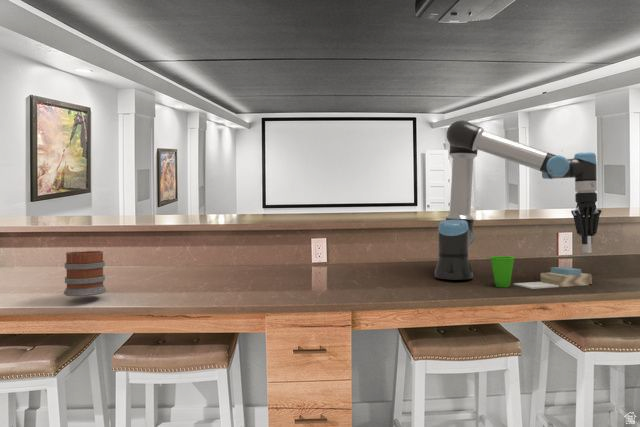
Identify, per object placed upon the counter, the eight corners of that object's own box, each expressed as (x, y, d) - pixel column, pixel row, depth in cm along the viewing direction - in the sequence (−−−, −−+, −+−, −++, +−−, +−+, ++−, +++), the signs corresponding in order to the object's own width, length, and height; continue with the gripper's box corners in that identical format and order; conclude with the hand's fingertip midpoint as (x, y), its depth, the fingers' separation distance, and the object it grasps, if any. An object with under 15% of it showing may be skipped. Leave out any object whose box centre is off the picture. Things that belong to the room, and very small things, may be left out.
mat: (532, 288, 181) (532, 287, 181) (513, 284, 191) (513, 283, 191) (559, 287, 185) (559, 285, 185) (539, 283, 194) (539, 281, 194)
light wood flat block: (560, 287, 185) (560, 276, 185) (540, 283, 194) (540, 273, 194) (591, 284, 189) (591, 274, 189) (571, 281, 199) (571, 271, 199)
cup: (488, 287, 185) (488, 257, 185) (491, 283, 194) (490, 255, 194) (514, 288, 182) (514, 258, 182) (515, 285, 190) (515, 256, 190)
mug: (55, 296, 172) (55, 253, 172) (81, 288, 192) (80, 249, 191) (96, 296, 173) (96, 253, 173) (117, 287, 192) (117, 248, 192)
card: (568, 275, 187) (568, 270, 187) (550, 272, 195) (550, 267, 195) (581, 274, 188) (581, 269, 188) (563, 271, 197) (563, 266, 197)
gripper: (580, 192, 189) (581, 254, 189) (607, 191, 193) (608, 252, 193) (565, 192, 196) (566, 252, 196) (591, 192, 200) (592, 251, 200)
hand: (587, 252), depth 195 cm, fingers closed
